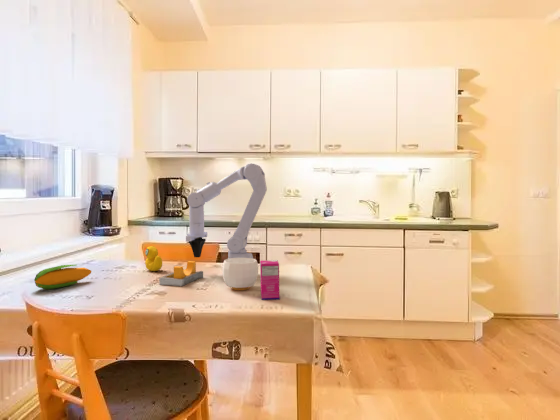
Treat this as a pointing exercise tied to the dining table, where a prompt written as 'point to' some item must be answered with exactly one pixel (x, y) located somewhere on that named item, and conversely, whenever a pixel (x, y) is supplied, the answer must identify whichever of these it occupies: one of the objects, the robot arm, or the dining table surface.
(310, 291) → the dining table surface
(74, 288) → the dining table surface
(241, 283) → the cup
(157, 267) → the duckling
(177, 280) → the grey shallow rectangular tray
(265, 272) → the supplement box
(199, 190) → the robot arm
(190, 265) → the pipe clamp
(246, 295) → the dining table surface
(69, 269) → the corn
